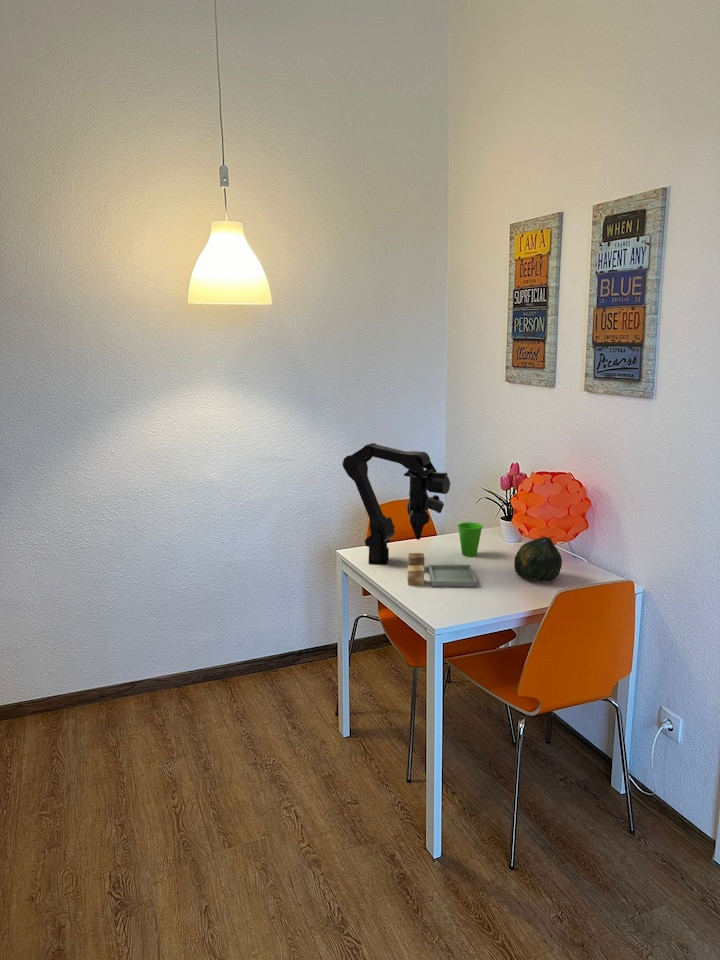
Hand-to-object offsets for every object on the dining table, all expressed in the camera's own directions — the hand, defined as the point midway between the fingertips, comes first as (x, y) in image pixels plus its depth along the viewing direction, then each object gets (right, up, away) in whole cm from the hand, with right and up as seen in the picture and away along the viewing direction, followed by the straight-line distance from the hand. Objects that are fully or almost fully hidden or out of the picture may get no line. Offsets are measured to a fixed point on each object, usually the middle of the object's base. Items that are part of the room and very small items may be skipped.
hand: (417, 535), depth 233 cm
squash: (+39, -14, -6) cm, 42 cm away
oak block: (-1, -14, -10) cm, 18 cm away
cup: (+20, -9, +18) cm, 28 cm away
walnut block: (0, -12, +2) cm, 12 cm away
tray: (+11, -13, -7) cm, 18 cm away
